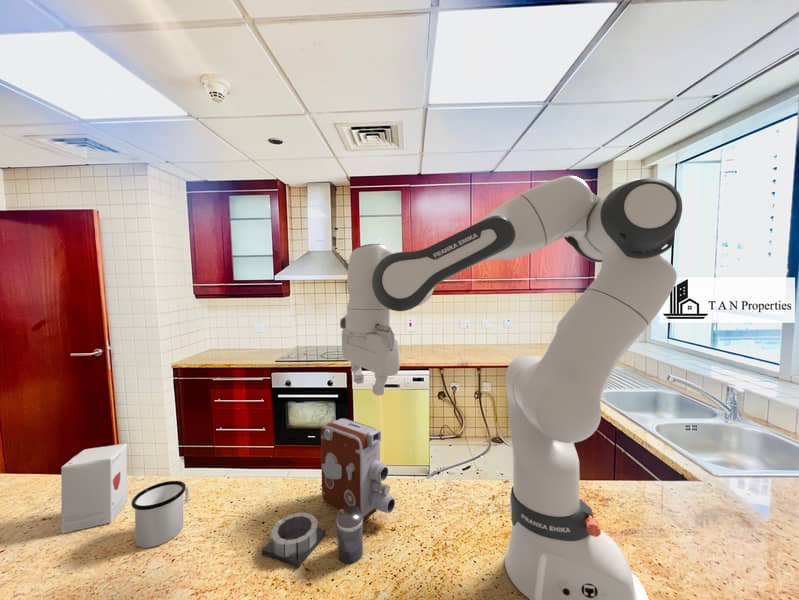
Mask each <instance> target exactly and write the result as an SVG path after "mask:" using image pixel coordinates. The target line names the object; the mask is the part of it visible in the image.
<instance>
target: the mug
mask: <svg viewBox="0 0 799 600" xmlns="http://www.w3.org/2000/svg"><path fill="white" fill-rule="evenodd" d="M189 489H190V488H189V485H186V483H185V482H183V481H179V480H166V481H164V482H163V481H162V482H159V483H156V484H153V485H151V486H149V487H147V488H145V489H143V490H142V491H140V492H139V493H137V494H136V495H135V496H134V497H133V498H132V500H131V508H133V509H134V515H135V516H134V521H135V522H134V525H135V526H134V530H135V532H134V536H135V537H134V538H135V541H134V542H135V545H136V547H138V548H143V549H147V548H149V549H150V548H155V547H157V546H158V547H159V546H161V545H163V544H165V543H167V542H169V541H171V540H172V539H174V537H176V536H177V535H178V534H180V533H181V531H182V530H183V528H184V508H186V507H187V505H188V503H189V500H190V499H189V498H190V493H189V492H190V490H189ZM184 494H185V495H184ZM184 499H185V501H184Z"/></svg>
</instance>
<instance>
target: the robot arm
mask: <svg viewBox="0 0 799 600" xmlns="http://www.w3.org/2000/svg"><path fill="white" fill-rule="evenodd" d="M682 214H683V200H682V196H681V194H680V193H679V191H678V190H677V188H675V186H673V185H672V184H671V183H669V182H668V181H666V180H663V179H660V178H655V177H645V178H644V177H642V178H638V179H634V180H631V181H628V182H626V183H623V184H621V185H619V186H618V187H616V188H615V189H613V190H612V191H610V192H609V194H608V195H607V196H606V195H605V196H604V197H603V198H602V196H600V195H596V194H595V193H593V192H592V190H591V188H590V187H589V185H588V184H587V182H586V181H584V180H583V179H582V178H579V177H577V176H575V175H564V176H560V177H558V178H555V179H551V180H548V181H546V182H543V183H541V184H538V185H536V186H534V187H532V188H529V189H527V190H525V191H523V192H521V193H518V194H517V195H516V196H513V197H512V198H510V199H509V200H506V201H505V202H504V203H502V204H501V205H499V206H498V207H497V206H496V208H494V209H493V210H491V211H490V212H489V213H488V214H486V215H485V216H483V217H482V218H480V219H479V220H478V221H476V222H475V223H474V224H472V225H471V226H468V227H467V228H465V229H463V230H460V231H459V232H457V233H455V234H452V235H450V236H448V237H446V238H445V239H444V238H443V239H442V240H440V241H438V242H437V243H433V244H432V245H430V246H428V247H425V248H422V249H419V250H414V251H402V252H401V251H400V252H395V251H392V250H391V249H389V248H388V247H387V246H386V245H384V244H380V243H369V244H364V245H360V246H358V247H356V248H354V249H353V250H352V251H351V253H350V256H349V259H348V260H349V261H348V264H347V265H348V266H347V281H346V282H347V284H346V285H347V291H348V292H347V293H348V302H347V305H346V314H345V315H344V316H343V317H341V318H340V319H339V327H340V329H341V330H342V331H341V352H342V357H343V359H344V360H345V361H347V362H350V363H351V365H350V366H351V370H352V373H353V382H354V383H355V384H357V385H360V384H364V381H365V380H364V377H365V376H364V374H363V370H362V368H363V369H365V370H368V371H370V372H371V373H374V378H375V381H374V384H373V385H372V393H373V394H374V395H375V396H377V397H378V396H383V395H384V393H385V385H386V383H387V381H388V377H390V376H396V375H397V374H398V373H399V371H400V353H399V343H398V338H397V337H396V335H395V333H394V332H393V330H392V327H391V326H390V311H394V312H395V311H396V312H407V311H410V310H412V309H414V308H416V307H419V306H421V305H424V304H425V303H426V302H427V301H428V300H429V299H431V297H432V295H433V294H434V291H435V287H436V286H437V285H438V284H440V283H441V282H443V281H445V280H447V279H449V278H451V277H453V276H456V275H457V274H459V273H462V272H464V271H465V270H467V269H469V268H472V267H474V266H475V265H477V264H481V263H483V262H487V261H491V260H501V261H503V260H505V261H510V260H514V259H517V258H518V259H519V258H522V257H523V256H527V255H529V254H532V253H534V252H536V251H538V250H540V249H542V248H544V247H546V246H549V245H551V244H552V243H554V242H556V241H558V240H561V239H563V238H564V241H566V243H568V244H569V245H570V246H571V247H573V249H574V250H575V252H577V254H578V255H580V257H582V258H583V259H586V260H587V261H590V262H595V263H601V266H600V270H599V271H598V274H597V275H596V278H595V279H594V280H593V281H592V282H591V283H590V284H589V286H588V287H587V288H586V289H585V290H584V291H583V292H582V294H581V295H579V297H578V299H577V300H575V302H574V303H573V305H572V306H571V307H570V308H569V310H567V312H566V313H565V314H564V316H563V317H562V318H561V319H560V320H559V322H558V323H557V325H556V330H555V334H554V336H553V338H552V341H551V343H550V344H549V346H548V349H547V350H546V352H545V353H544V355H543V356H541V355H539V354H538V355H537V354H536V355H535V354H527V355H521V356H518V357H516V358H515V359H514V360H512V361H511V362H510V363H509V365H508V366H507V369H506V371H505V385H506V399H507V400H506V401H507V411H508V420H509V421H508V422H509V430H510V436H511V437H510V438H511V445H512V487H511V490H510V496H509V497H510V499H509V500H510V501H509V506H510V507H509V509H510V517H511V523H512V524H511V531H510V539H509V544H508V548H507V551H506V554H505V558H504V566H505V567H504V568H505V570H506V571H505V572H506V573H507V575H508V577H509V579H510V581H511V582H512V584H513V585H514V586H515V587H516V588H517V589H518V591H520V592H521V593H522V594H523V595H524V596H525V597H526V598H527V599H529V600H650V598H649V596H648V594H647V592H646V589H645V587H644V585H643V584H642V581H641V580H640V578H639V577H638V576H637V574H635V572H634V571H633V569H631V567H630V565H629V563H628V560H627V558H626V556H625V554H624V553H623V550H622V549H621V547H620V546H619V545H618V543H617V542H616V541H615V540H614V539H613V538H612V537H611V536H609V535H608V534H607V533H605V532H604V531H603V530H601V527H600V524H599V522H598V520H597V519H595V518H594V513H593V510H592V508H591V507H590V506H589V502H588V501H587V499H586V498H585V497H583V500H582V499H581V497H580V490H581V489H580V459H579V456H578V452H577V449H576V446H575V443H579V442H582V441H585V440H587V439H588V438H589V437H591V436H592V435H593V434H595V432H596V431H597V429H598V428H599V425H600V423H601V419H602V418H601V417H602V407H601V401H602V397H603V394H604V392H605V389H606V387H607V385H608V382H609V380H610V377H611V375H612V373H613V372H614V369H615V368H616V366H617V364H618V363H619V362H620V360H621V358H622V357H623V356H624V354H625V353H626V352H627V351H628V350H629V349H630V348H631V346H632V345H633V344H634V342H635V341H636V340H637V339H638V338H639V337H640V335H642V333H643V332H644V331H645V329H647V327H648V326H649V325H650V324H651V323H652V322H653V320H654V318H656V316H657V315H658V314H659V312H661V311H660V310H662V308H663V307H664V305H665V303H666V302H667V300H668V298H669V297H670V295H671V293H672V291H673V289H674V287H675V285H676V283H677V279H678V277H677V276H678V275H677V272H676V269H675V267H674V266H673V265H672V263H671V262H669V261H668V260H667V259H666V258H665V257H664V256H661V255H662V254H663V253H665V252H667V251H668V250H670V249H671V248H672V246H673V245H674V242H675V235H676V230H677V229H678V226H679V224H680V221H681V217H682Z"/></svg>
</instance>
